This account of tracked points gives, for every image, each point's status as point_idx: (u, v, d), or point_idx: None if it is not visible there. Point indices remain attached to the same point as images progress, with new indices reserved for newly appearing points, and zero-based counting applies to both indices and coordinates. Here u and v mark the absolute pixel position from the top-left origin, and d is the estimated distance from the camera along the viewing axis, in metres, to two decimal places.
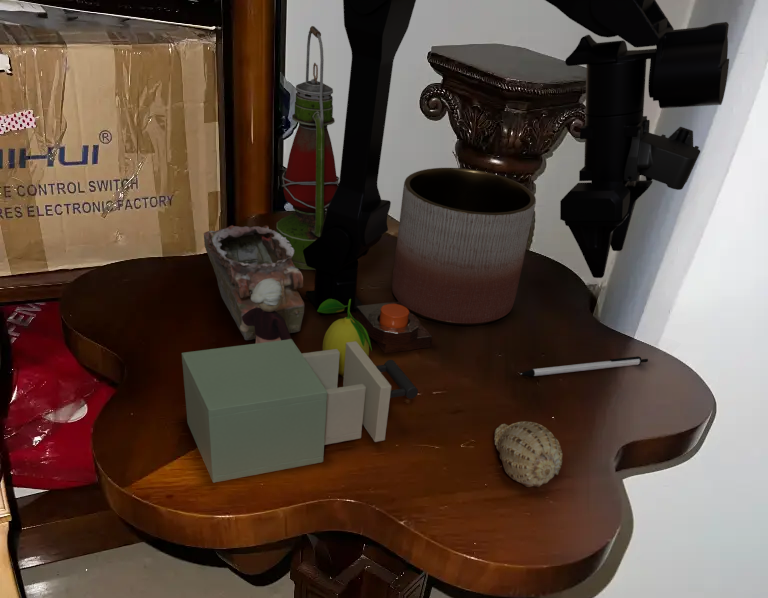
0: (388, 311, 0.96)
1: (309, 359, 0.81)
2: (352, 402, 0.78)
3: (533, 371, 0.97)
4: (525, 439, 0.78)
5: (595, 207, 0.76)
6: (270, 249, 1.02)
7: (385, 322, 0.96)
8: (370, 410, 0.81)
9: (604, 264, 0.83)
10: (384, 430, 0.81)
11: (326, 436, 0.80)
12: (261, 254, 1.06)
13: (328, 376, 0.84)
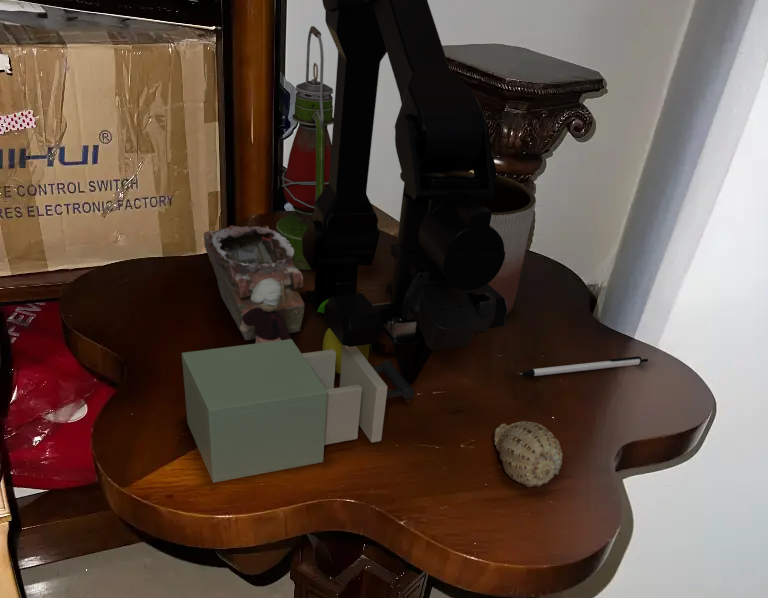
0: None
1: None
2: (348, 403, 0.78)
3: (533, 371, 0.97)
4: (525, 439, 0.78)
5: (335, 323, 0.75)
6: (270, 249, 1.02)
7: None
8: (367, 410, 0.81)
9: (406, 374, 0.83)
10: (380, 431, 0.81)
11: None
12: (261, 254, 1.06)
13: (324, 377, 0.84)
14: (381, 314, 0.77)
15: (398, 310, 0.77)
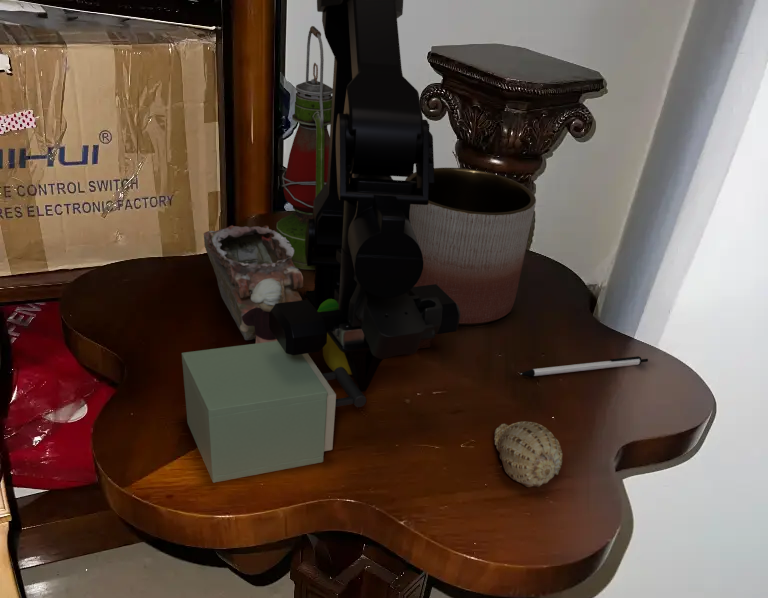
0: None
1: None
2: None
3: (533, 371, 0.97)
4: (525, 439, 0.78)
5: (279, 331, 0.73)
6: (270, 249, 1.02)
7: None
8: None
9: (358, 381, 0.81)
10: (331, 439, 0.79)
11: None
12: (261, 254, 1.06)
13: None
14: (327, 321, 0.75)
15: (345, 317, 0.75)
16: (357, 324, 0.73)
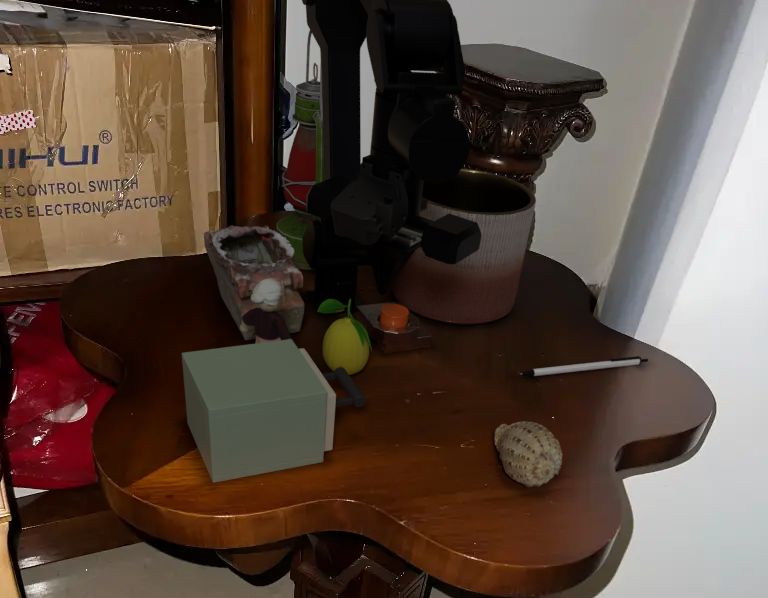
0: (388, 311, 0.96)
1: None
2: None
3: (533, 371, 0.97)
4: (525, 439, 0.78)
5: None
6: (270, 249, 1.02)
7: (385, 322, 0.96)
8: None
9: (375, 279, 0.85)
10: (331, 439, 0.79)
11: None
12: (261, 254, 1.06)
13: None
14: None
15: None
16: None
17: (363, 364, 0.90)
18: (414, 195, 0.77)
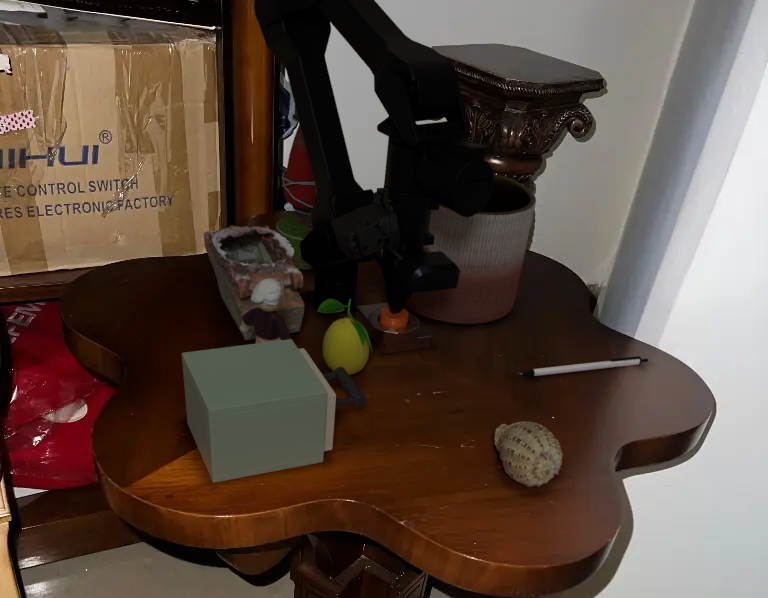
0: (388, 314, 0.97)
1: None
2: None
3: (533, 371, 0.97)
4: (525, 439, 0.78)
5: None
6: (270, 249, 1.02)
7: (385, 324, 0.97)
8: None
9: (387, 297, 0.96)
10: (331, 439, 0.79)
11: None
12: (261, 254, 1.06)
13: None
14: None
15: None
16: None
17: (363, 364, 0.90)
18: (409, 227, 0.87)
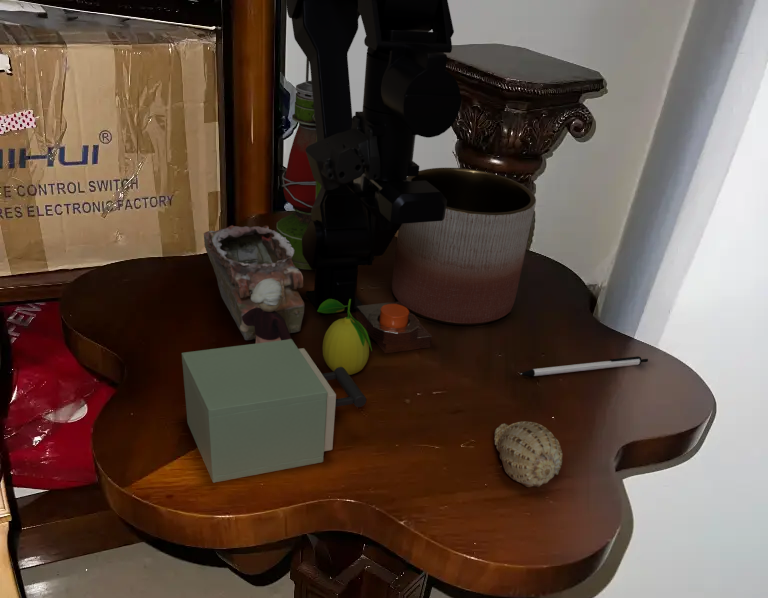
0: (388, 311, 0.96)
1: None
2: None
3: (533, 371, 0.97)
4: (525, 439, 0.78)
5: None
6: (270, 249, 1.02)
7: (385, 322, 0.96)
8: None
9: (369, 238, 0.88)
10: (331, 439, 0.79)
11: None
12: (261, 254, 1.06)
13: None
14: None
15: None
16: None
17: (363, 364, 0.90)
18: (391, 154, 0.79)
